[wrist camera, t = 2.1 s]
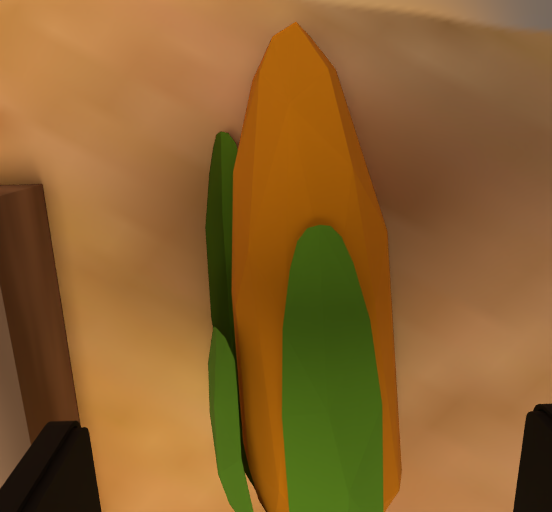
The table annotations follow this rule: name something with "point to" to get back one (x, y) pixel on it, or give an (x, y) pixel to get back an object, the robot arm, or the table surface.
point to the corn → (300, 299)
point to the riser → (29, 328)
